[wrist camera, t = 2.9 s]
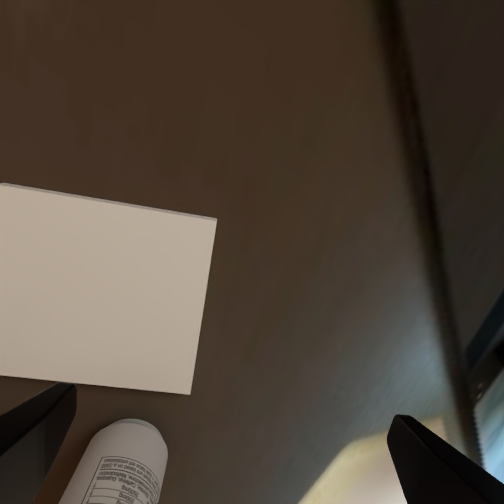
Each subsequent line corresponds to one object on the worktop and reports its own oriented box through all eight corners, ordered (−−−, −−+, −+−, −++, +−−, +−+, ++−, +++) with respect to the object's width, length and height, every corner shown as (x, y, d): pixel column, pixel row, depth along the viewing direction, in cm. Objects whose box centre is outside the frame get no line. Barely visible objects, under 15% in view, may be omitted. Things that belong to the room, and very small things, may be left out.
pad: (217, 218, 20) (216, 221, 19) (191, 385, 23) (190, 394, 22) (5, 182, 19) (-8, 183, 18) (9, 365, 22) (-1, 375, 21)
